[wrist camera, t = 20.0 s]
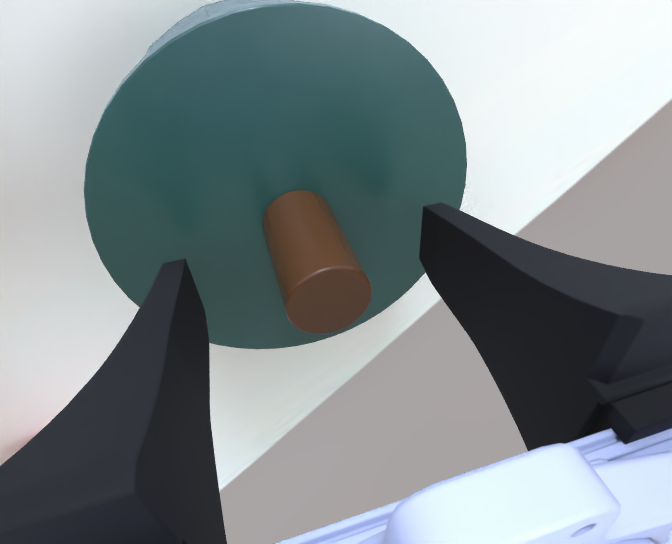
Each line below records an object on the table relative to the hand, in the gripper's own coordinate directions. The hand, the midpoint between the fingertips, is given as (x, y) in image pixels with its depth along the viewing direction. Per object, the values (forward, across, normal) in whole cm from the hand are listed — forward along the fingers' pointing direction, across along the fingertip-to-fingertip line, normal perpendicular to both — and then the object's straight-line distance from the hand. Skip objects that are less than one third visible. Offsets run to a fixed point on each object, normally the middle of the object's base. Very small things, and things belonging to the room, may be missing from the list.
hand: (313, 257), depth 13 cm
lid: (+3, 0, 0) cm, 3 cm away
